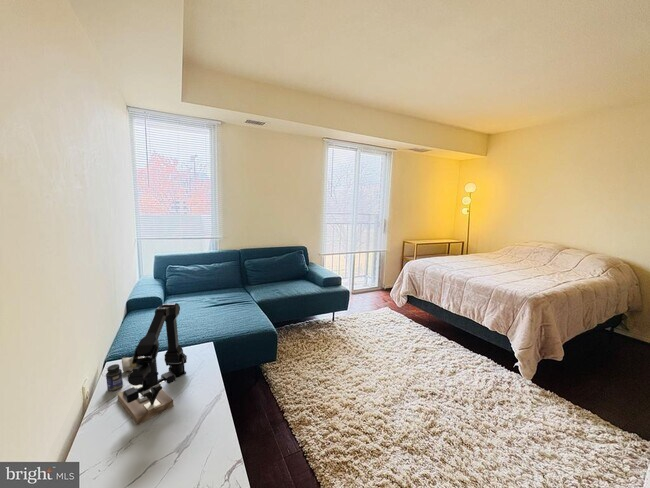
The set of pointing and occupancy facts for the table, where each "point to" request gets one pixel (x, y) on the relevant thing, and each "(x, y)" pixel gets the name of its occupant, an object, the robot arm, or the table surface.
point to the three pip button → (142, 398)
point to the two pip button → (136, 386)
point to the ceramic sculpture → (128, 364)
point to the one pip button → (149, 406)
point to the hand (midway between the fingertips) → (152, 403)
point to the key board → (140, 412)
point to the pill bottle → (114, 378)
